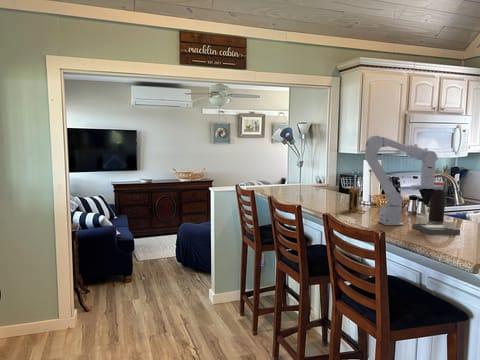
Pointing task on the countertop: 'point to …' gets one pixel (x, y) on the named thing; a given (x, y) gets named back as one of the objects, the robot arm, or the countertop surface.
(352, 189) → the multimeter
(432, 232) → the switch panel
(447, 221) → the tab front
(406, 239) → the countertop surface
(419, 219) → the tab back
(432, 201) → the bottle
